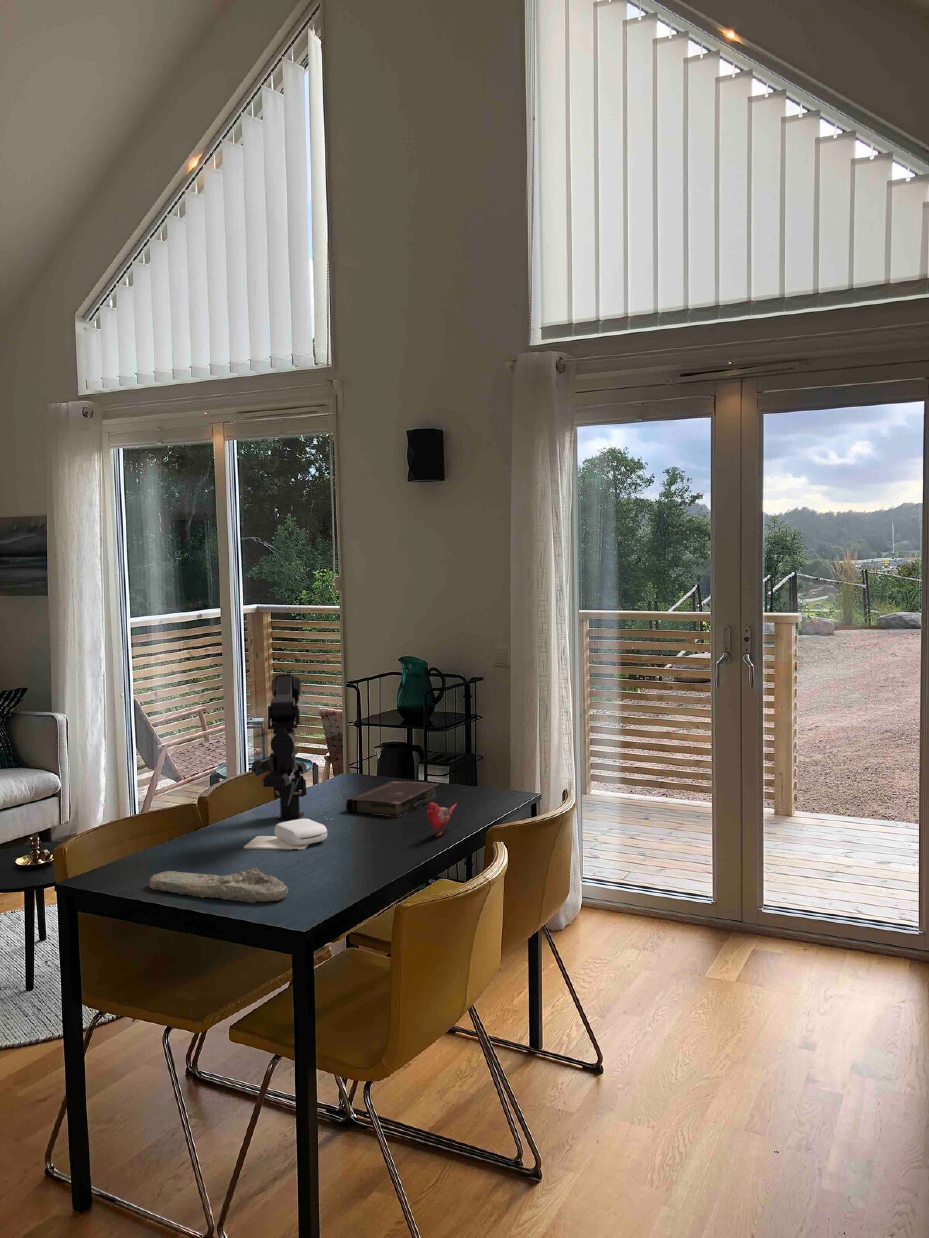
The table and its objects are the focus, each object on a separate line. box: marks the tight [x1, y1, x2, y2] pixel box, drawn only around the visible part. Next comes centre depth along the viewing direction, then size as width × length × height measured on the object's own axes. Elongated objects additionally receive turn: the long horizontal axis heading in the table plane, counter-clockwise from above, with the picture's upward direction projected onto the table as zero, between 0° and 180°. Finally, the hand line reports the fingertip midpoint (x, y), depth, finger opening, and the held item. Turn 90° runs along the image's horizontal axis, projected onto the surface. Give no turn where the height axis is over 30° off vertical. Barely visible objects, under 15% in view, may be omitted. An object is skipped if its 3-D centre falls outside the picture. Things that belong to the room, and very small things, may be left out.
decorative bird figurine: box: [426, 801, 458, 838], centre depth 268 cm, size 3×18×10 cm, turn 155°
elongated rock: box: [149, 868, 289, 904], centre depth 225 cm, size 35×5×10 cm
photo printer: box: [273, 818, 328, 845], centre depth 264 cm, size 10×4×12 cm
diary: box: [345, 780, 440, 818], centre depth 301 cm, size 19×25×5 cm
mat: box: [243, 835, 310, 851], centre depth 263 cm, size 10×16×1 cm, turn 81°
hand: (286, 805), depth 268 cm, fingers closed
